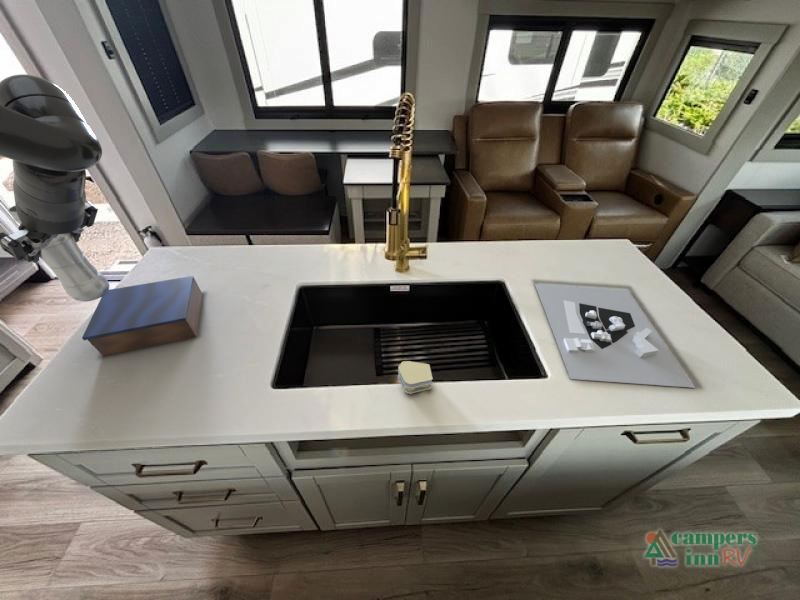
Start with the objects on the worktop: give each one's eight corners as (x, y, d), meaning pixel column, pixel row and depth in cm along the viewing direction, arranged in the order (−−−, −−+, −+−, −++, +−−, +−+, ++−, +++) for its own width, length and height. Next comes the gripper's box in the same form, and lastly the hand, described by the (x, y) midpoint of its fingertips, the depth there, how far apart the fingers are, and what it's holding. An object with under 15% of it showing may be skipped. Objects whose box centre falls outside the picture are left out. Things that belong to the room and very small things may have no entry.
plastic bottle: (79, 290, 69) (3, 202, 56) (116, 282, 71) (52, 196, 58) (71, 309, 65) (-13, 219, 51) (111, 300, 67) (41, 212, 54)
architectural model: (534, 284, 102) (536, 278, 100) (626, 290, 101) (630, 284, 99) (569, 379, 76) (573, 374, 74) (694, 388, 75) (701, 383, 74)
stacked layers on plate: (431, 367, 77) (433, 353, 74) (439, 401, 71) (442, 387, 67) (389, 371, 76) (389, 356, 73) (393, 405, 70) (394, 392, 66)
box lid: (84, 340, 72) (81, 338, 71) (106, 292, 83) (104, 290, 83) (186, 320, 77) (185, 317, 76) (194, 278, 89) (193, 275, 88)
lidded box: (105, 358, 77) (87, 339, 72) (124, 311, 88) (109, 292, 83) (198, 339, 82) (186, 320, 77) (204, 296, 93) (194, 278, 89)
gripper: (75, 163, 54) (71, 215, 65) (-33, 200, 44) (-16, 254, 55) (117, 199, 56) (107, 243, 67) (23, 241, 46) (29, 285, 57)
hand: (52, 248), depth 61 cm, fingers closed on plastic bottle, 6 cm apart
